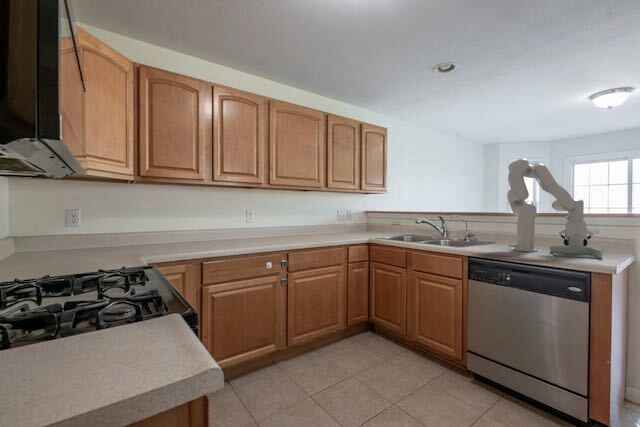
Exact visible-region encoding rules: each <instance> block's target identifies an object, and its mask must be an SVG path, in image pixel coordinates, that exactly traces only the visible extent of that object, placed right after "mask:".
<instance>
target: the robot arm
mask: <svg viewBox="0 0 640 427" xmlns="http://www.w3.org/2000/svg"><path fill="white" fill-rule="evenodd" d="M508 171H509V172H508V176H507V181H508V184H509V188H510V189H508V191H507V194H506V197H507V201H508V204H509V207H510V209H511V212H512V213H513V214H514V215H515V216H516V217H517V221H516V227H517V228H516V242H515V243H508V247H509V248H510V247H514V248H513V250H514V251H517V252H518V251H520V252H532V253H533V252H534V253H536V252H538V249H537V248H535V241H536V240H535V238H536V236H535V235H536V234H535V233H536V232H535V231H536V230H535V229H536V216H537V207H536V205H535V204H534V203H532V202H529V201H528V202H526V200H527V199H528V198H529V197H530V193H529V190H528V188H527V185H526V182H525V178H529V179H535V181H536V182H537V184H538V186H539V187H540V188H541V190H542V191H544V192H545V193H547V194H550V195H551V196H552V197H554V199H556V200H554V201H553V202H552V203H551V208H552V209H553V210H555V211H557V212H567V216H564V219H565V220H566V223H565V228H564V230H561V231H559V232H558V235H559V236H560V238H562V239H563V245H564V246H568V237H571V236H573V235H575V234H578V235H580V236H582V237H583V247H587V246H588V241H589V240H590V239H591V238H592V237H593V236H594V233H592V232H591V231H589V230H588V229H587V222H586V221H584V206H585V205H584V204H585V202H584V199H576V198H575V199H573V197H572V195H571V194H570V193H569V192H568V191H567V190H566V189H565V188H564V187H563V186H562V185H560V184H559V183H558V182H557V180H556V179H555V178H554V176H553V175H552V173H551V171H550V170H549V168H548V167H547V166H546V165H545V164H542V163H538V164H534V165H531V164H530V162H529V160H528V159H526V158H518V159H517V160H515V161H512V162H510V164H509V165H508ZM563 234H564V235H563Z"/></svg>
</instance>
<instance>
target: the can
mask: <svg viewBox="0 0 640 427" xmlns="http://www.w3.org/2000/svg"><path fill="white" fill-rule="evenodd" d="M567 240H568V246H572V247H584V246H583V240H584V238H583V237H582V236H580V235H578V234H575V235H573V236H571V237H568V238H567Z"/></svg>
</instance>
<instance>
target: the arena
mask: <svg viewBox="0 0 640 427" xmlns="http://www.w3.org/2000/svg"><path fill="white" fill-rule="evenodd" d="M549 253H550V254H551V255H552V256H554V255H555V256H554V257H556V256H560V257H559V258H572V257H574V259H575V258H576V259H591V260H593V259H594V260H603V250H601V249H599V248H595V247H589V246H586V247H585V246H583V247H572V246H565V245H549Z"/></svg>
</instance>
